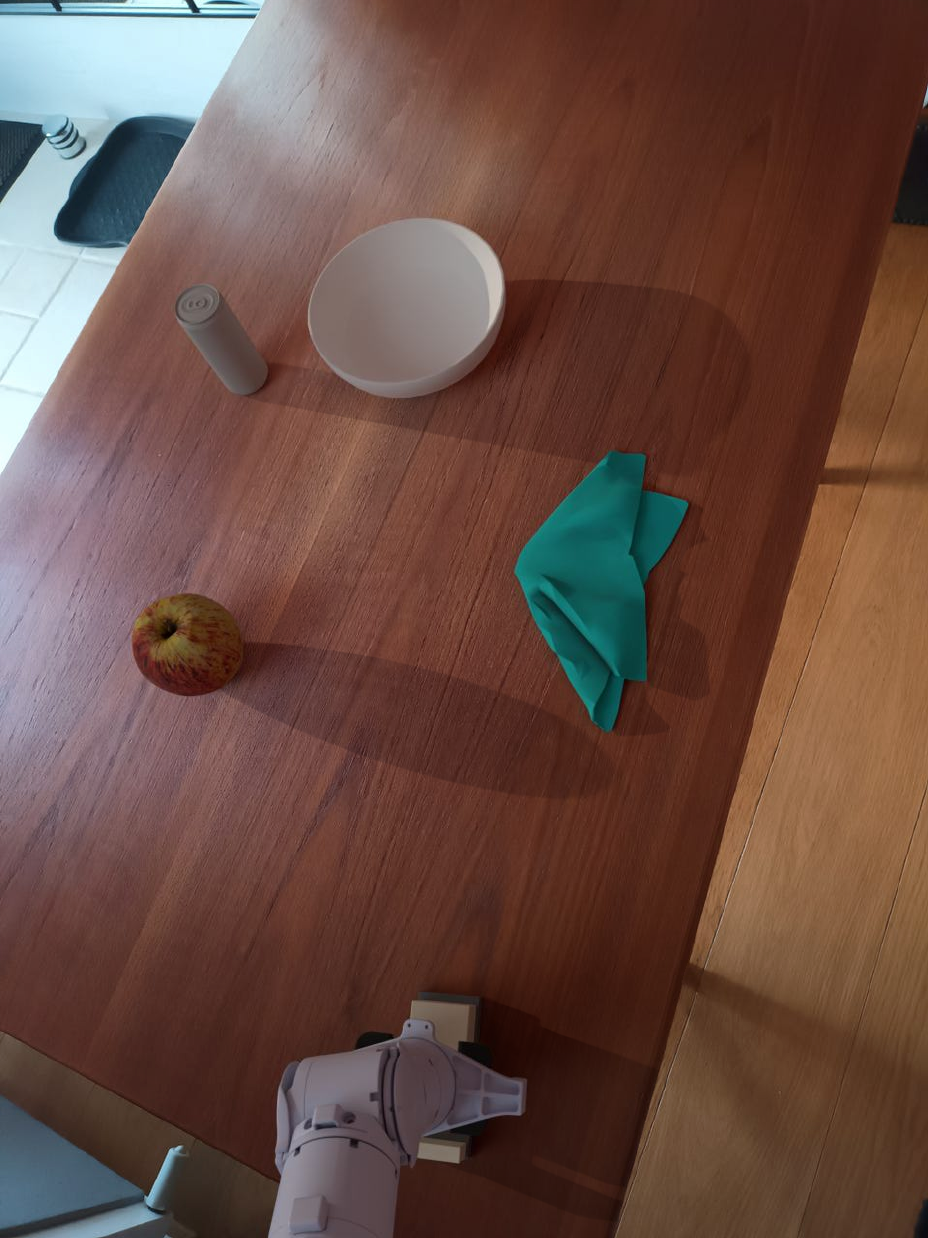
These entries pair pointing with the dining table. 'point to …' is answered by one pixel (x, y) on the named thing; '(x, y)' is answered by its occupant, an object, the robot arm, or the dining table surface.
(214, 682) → the apple
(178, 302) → the beverage can
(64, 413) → the dining table surface
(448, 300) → the bowl
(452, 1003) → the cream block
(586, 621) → the cloth
